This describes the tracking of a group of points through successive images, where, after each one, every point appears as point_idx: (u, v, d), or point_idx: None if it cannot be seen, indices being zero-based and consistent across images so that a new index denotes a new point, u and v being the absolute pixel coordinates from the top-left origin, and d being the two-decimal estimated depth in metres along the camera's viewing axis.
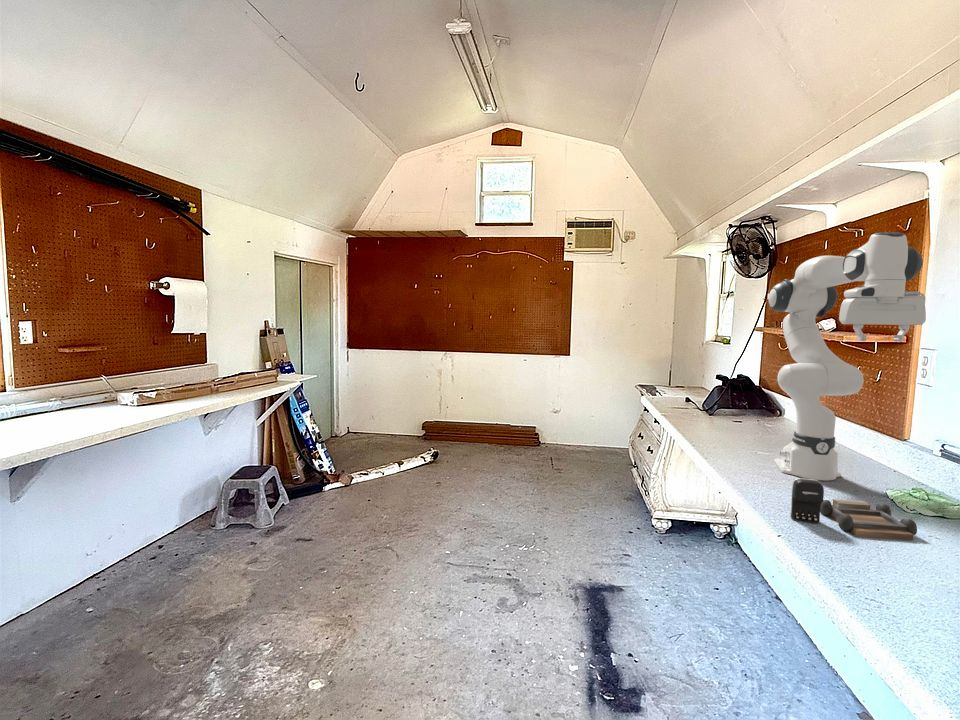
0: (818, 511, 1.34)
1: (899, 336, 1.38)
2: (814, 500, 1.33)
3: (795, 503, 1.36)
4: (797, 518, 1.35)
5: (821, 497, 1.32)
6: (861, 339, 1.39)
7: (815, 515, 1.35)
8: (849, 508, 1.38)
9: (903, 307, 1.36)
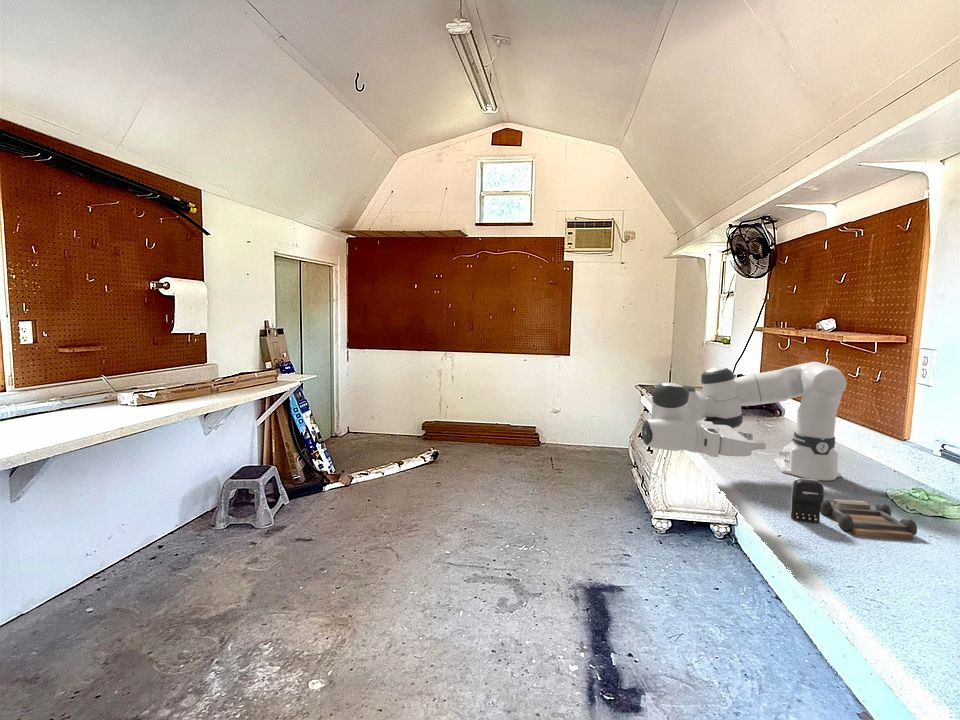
0: (818, 511, 1.34)
1: (747, 433, 1.40)
2: (814, 500, 1.33)
3: (795, 503, 1.36)
4: (797, 518, 1.35)
5: (821, 497, 1.32)
6: (764, 443, 1.31)
7: (815, 515, 1.35)
8: (849, 508, 1.38)
9: None
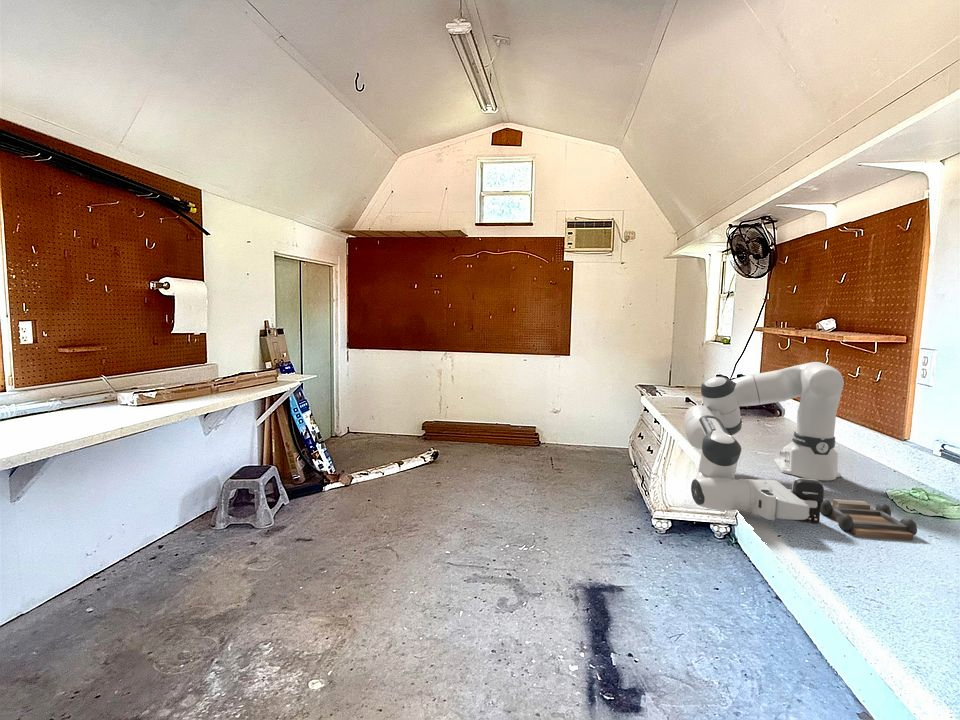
0: (818, 511, 1.34)
1: None
2: None
3: None
4: None
5: (821, 497, 1.32)
6: (815, 501, 1.32)
7: (815, 515, 1.35)
8: (849, 508, 1.38)
9: None
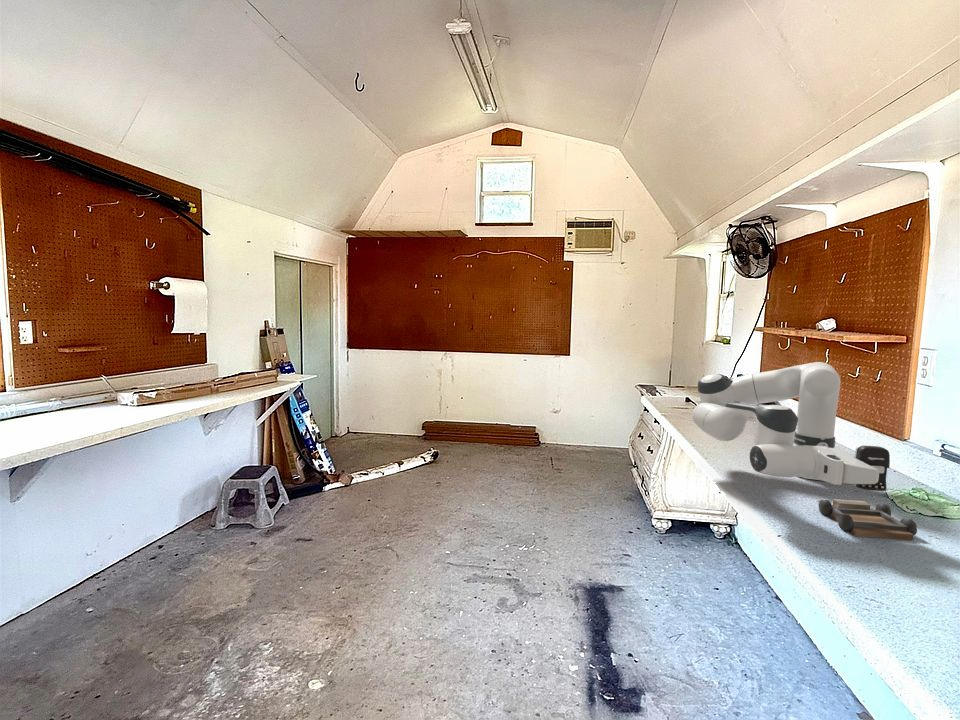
0: (884, 479, 1.31)
1: None
2: None
3: None
4: (863, 486, 1.31)
5: (888, 462, 1.29)
6: (882, 466, 1.28)
7: (881, 483, 1.31)
8: (849, 508, 1.38)
9: None
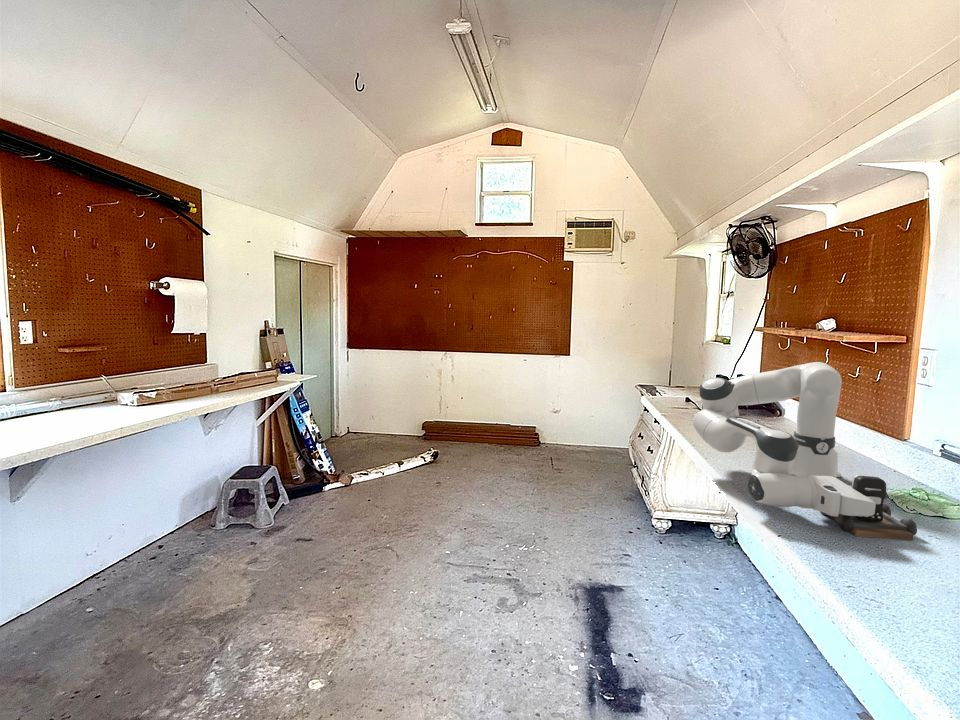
0: (881, 509, 1.32)
1: None
2: None
3: None
4: (860, 516, 1.32)
5: (884, 493, 1.30)
6: (878, 497, 1.29)
7: (878, 513, 1.32)
8: None
9: None
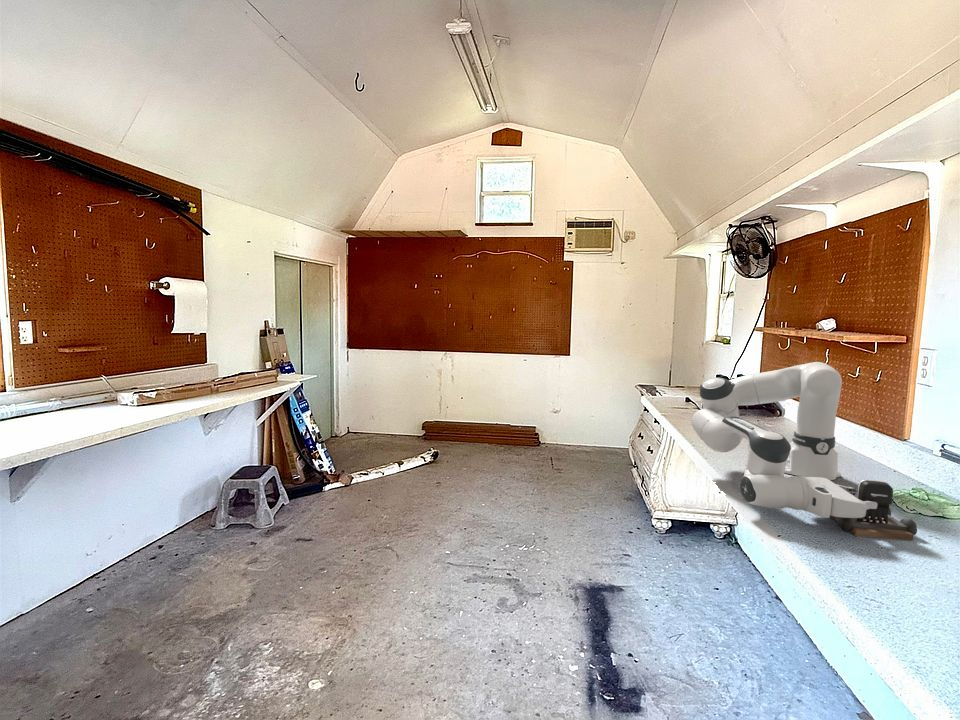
0: (886, 514, 1.30)
1: (849, 488, 1.37)
2: (883, 502, 1.28)
3: None
4: (864, 521, 1.30)
5: (890, 499, 1.27)
6: (875, 502, 1.27)
7: (883, 518, 1.30)
8: None
9: None
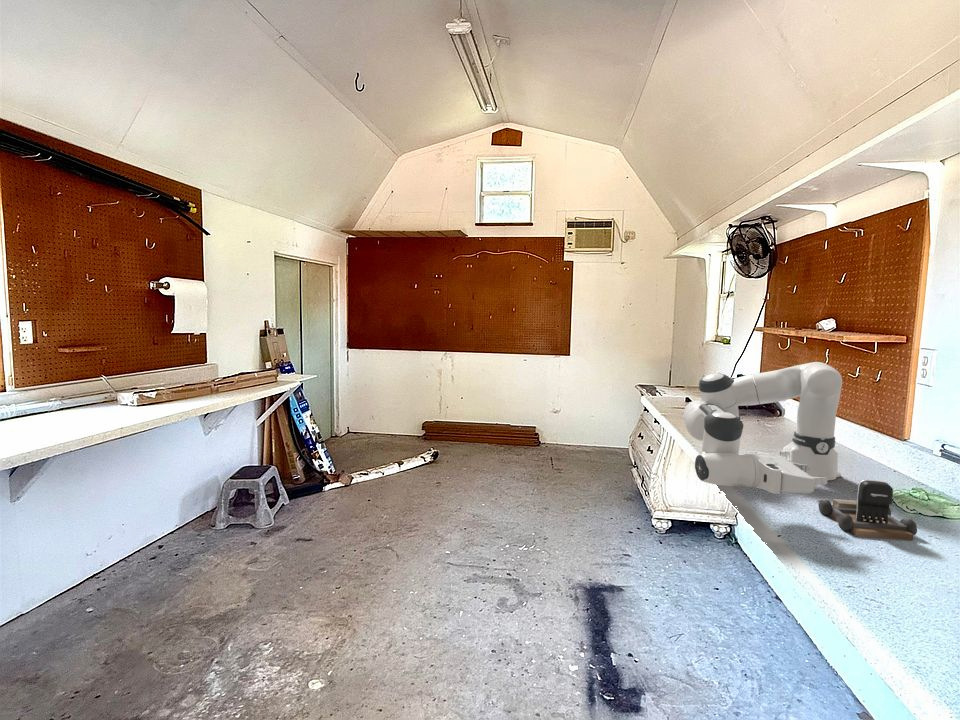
0: (886, 514, 1.30)
1: (803, 465, 1.37)
2: (883, 502, 1.28)
3: (861, 505, 1.31)
4: (864, 521, 1.30)
5: (890, 499, 1.27)
6: (825, 477, 1.28)
7: (883, 518, 1.30)
8: (849, 508, 1.38)
9: None
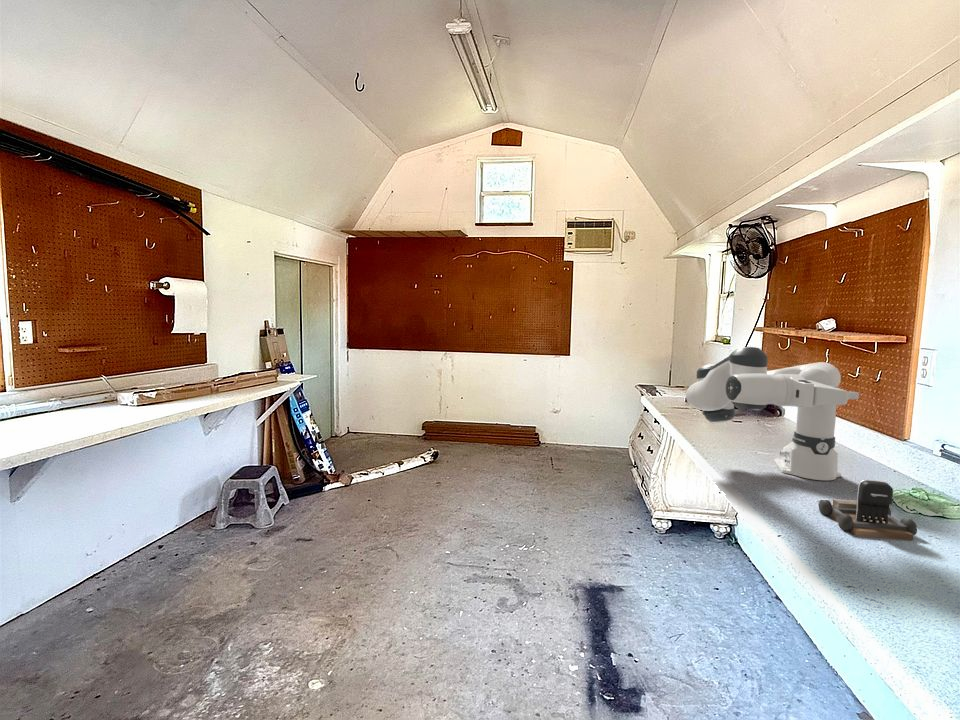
0: (886, 514, 1.30)
1: (833, 386, 1.40)
2: (883, 502, 1.28)
3: (861, 505, 1.31)
4: (864, 521, 1.30)
5: (890, 499, 1.27)
6: None
7: (883, 518, 1.30)
8: (849, 508, 1.38)
9: None
